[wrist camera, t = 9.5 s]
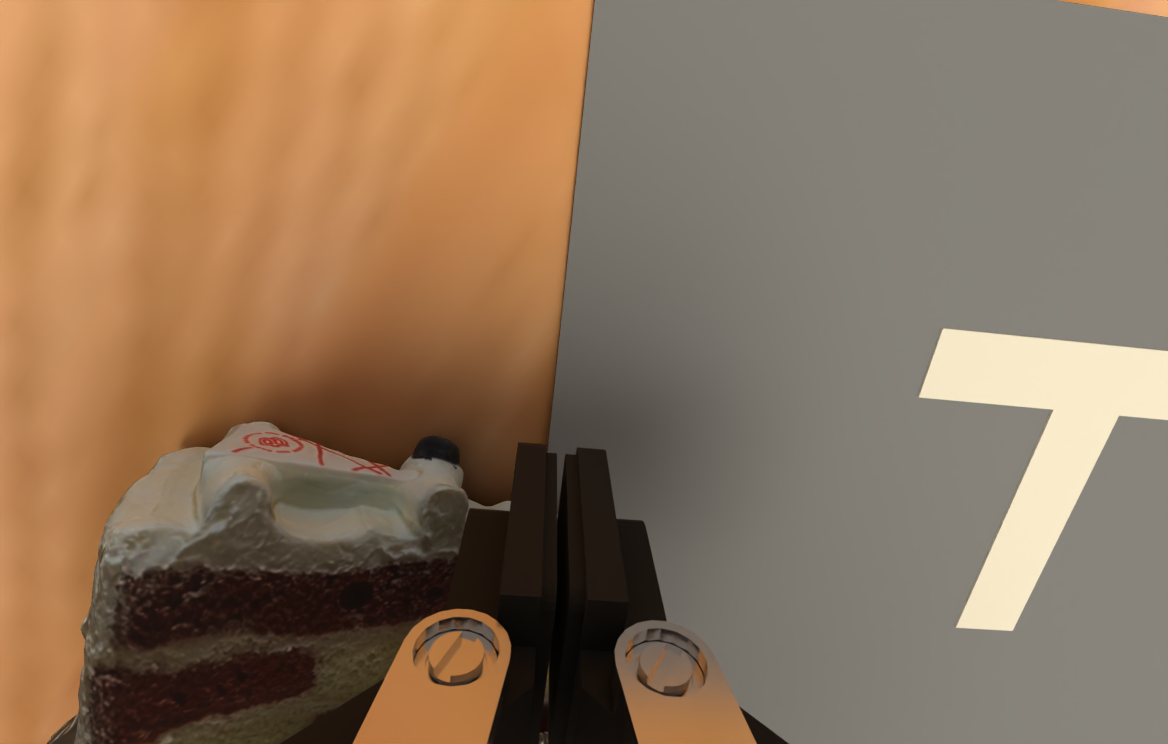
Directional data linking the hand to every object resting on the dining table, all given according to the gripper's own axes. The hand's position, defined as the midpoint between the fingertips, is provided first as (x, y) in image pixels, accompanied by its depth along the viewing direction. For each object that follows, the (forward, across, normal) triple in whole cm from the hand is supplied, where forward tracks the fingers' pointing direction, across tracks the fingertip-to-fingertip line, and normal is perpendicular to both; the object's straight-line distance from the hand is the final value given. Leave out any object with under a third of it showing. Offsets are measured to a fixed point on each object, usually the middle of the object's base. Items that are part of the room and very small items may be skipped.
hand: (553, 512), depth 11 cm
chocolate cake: (+2, +3, +3) cm, 5 cm away
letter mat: (+2, -12, 0) cm, 12 cm away
